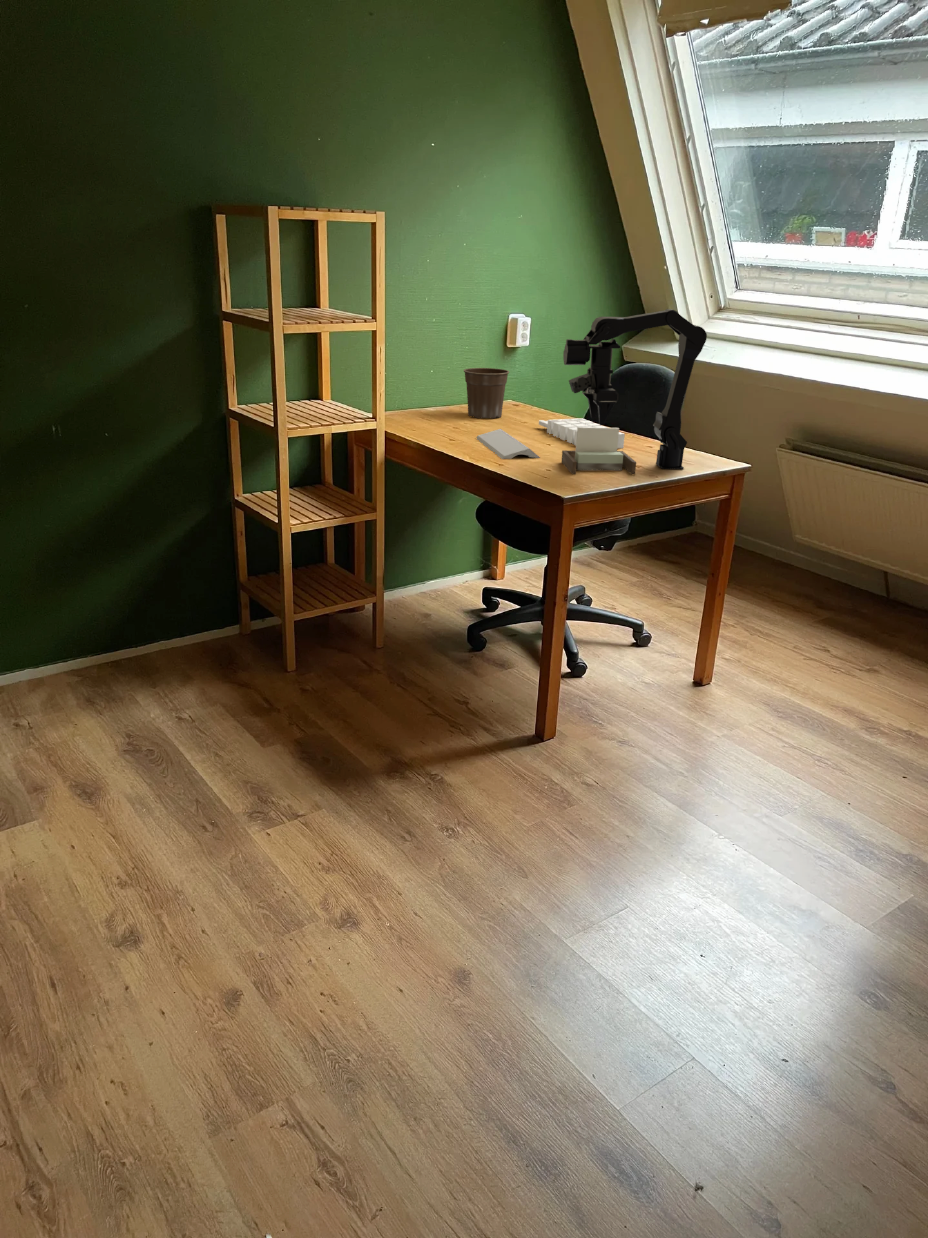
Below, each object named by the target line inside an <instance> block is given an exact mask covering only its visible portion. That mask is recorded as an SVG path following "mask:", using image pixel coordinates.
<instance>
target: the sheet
mask: <svg viewBox="0 0 928 1238" xmlns="http://www.w3.org/2000/svg"><path fill="white" fill-rule="evenodd" d="M619 432H620V428H619V427H607V428H583V427H577V438H576V445H575V450H574V451H575V454H576V452H617V451H618V448H617V446H618V436H619Z"/></svg>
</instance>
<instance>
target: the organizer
mask: <svg viewBox="0 0 928 1238" xmlns="http://www.w3.org/2000/svg"><path fill="white" fill-rule="evenodd" d="M538 425H539V426H540V427H541V426H542V427H544V428H546V434H548V433H549V434H548V435H550V434H553V435H552V436H553V437H555V436H556V437H555V438H557V439H558V438H560V440H562V441H565V440H567V441H565V442H567V443H569V444H571V443H572V445H574V446H576V438H577V427H583V428H608V427H607V426H604V425H600V424H599V423H595V422H593V421H590V420H587V419H585V418H582V417H581V418H577V417H576V418H563V419H561V418H558V419H547V420H543V419H542V420H541V419H539V420H538ZM625 434H626V433H624V432H621V431H619V436H618V446H617V449H624V446H625V445H624V444H625Z"/></svg>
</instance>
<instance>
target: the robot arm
mask: <svg viewBox="0 0 928 1238" xmlns="http://www.w3.org/2000/svg"><path fill="white" fill-rule="evenodd" d="M663 326H667V327H669V329H671V331H673V332H674V333H676V334H677V335H678V345H677V348H678V359H677V363H676V367H675V370H674V374H673V377H672V381H671V385H670V389H669V392H668V397H667V398H666V399H667V400H666V404H665V406H664V408H663V410H662V411H661V412H659V411H656V414H655V419H654V423H653V424H652V426H653V427H654V428H653V431H654V434H655V435H656V436H657V437H658V439H659V442H660V444H659V449H658V450H657V454H656V462H655V465H656V466H657V467H659V468H660V469H662V470H684V469H685V468H684V466H683V460H684V451H685V449H686V446H687V444H688V442H687V441H688V440H686V439H685V437H683V436H682V434H681V429H682V414H681V413H682V408H683V404H684V401H685V397H686V393H687V390H688V386H689V382H690V379H691V376H692V372H693V368H694V364H695V361H696V360H697V358H698V356H699V355H700V353H701V352H702V351H703V349H704V346H705V343H706V342H707V338H708V333H707V332H706V330H705V329H704V328H703V327H702V326H699V325H696V324H693V323H692V322H690V321H689V320H687V319H686V318H685V317H683V316H682V315H681V314H679V312H678V311H677V310H675V309H672V308H666V309H665V310H659V311H655V312H647V313H643V314H636V315H630V316H625V317H624V316H598V317H595V318H594V320H593V321H592V323H591V327H590V328H591V329H590V330H589V331H588V332H587V334H586V335H585V336H584V337H583V339H572V338H571V339H570V338H567V339H566V340H565V345H564V350H563V351H562V352H563V357H562V360H563V364H564V366H586V364H587V363H589V362H590V367H588V368H587V370H586V371H587V372H586V373H584V374H581V375H579V376H576V377H573V378H571V379H569V380H568V382H569V387H570V390H571V392H573V393H574V394H577V393H580V392H581V394H582V395H583V396H584V397H585V398H587V403H588V407H589V413H590V418H591V419H592V420H595V419H596V418H597V415H598V424H599V425H601V426H604V425H605V423H606V420H607V419H608V417H609V415H610V413H611V411H612V409H613V408H614V406H615V405H616V404H617V402H618V401H619V396H620V394H619V393H618V391H617V389H614V388H613V385H612V384H611V378H612V375H613V374H614V370H613V369H612V364H613V361H612V360H613V350H614V349H620V348H621V346H620V345H619V344H618V342H617V340H616V339H615V338H618V337H620V336H622V335H624V334H627V333H629V332H636V331H641V330H647V329H653V328H659V327H663ZM609 340H610V341H609Z"/></svg>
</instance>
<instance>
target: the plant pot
mask: <svg viewBox="0 0 928 1238" xmlns="http://www.w3.org/2000/svg"><path fill="white" fill-rule="evenodd" d="M463 372H464V380H465V383H466V400H467V415H468V416H469V417H470V416H472V417H471V418H476V419H482V418H492V419H496V418H498V419H499V418H501V417H502V416H503V405H504V399H505V398H504V397H505V392H506V384H507V382H508V377H509V376H508V375H509V373H510V371H509V370H507V369H503V368H494V367H493V368H492V367H491V368H490V367H474V368H473V367H471V368H465V369H463ZM473 416H474V417H473Z"/></svg>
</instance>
